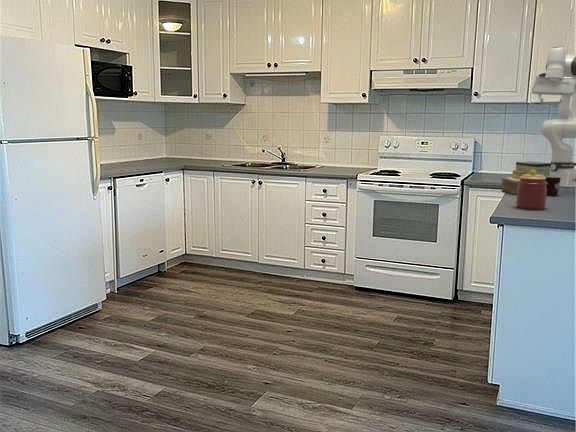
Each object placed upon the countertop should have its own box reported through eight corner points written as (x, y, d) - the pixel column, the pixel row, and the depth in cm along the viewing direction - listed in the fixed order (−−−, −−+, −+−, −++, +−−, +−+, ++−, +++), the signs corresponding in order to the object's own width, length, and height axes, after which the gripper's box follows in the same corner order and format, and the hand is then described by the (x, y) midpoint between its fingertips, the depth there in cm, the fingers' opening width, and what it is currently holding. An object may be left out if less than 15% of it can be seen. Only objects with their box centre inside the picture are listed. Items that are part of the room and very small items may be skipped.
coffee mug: (554, 194, 298) (555, 175, 296) (562, 196, 290) (564, 177, 288) (532, 194, 298) (534, 175, 296) (540, 196, 289) (542, 177, 287)
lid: (521, 178, 308) (521, 169, 307) (537, 181, 296) (538, 172, 295) (501, 179, 304) (501, 170, 303) (517, 182, 292) (518, 173, 291)
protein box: (526, 187, 323) (528, 160, 320) (549, 190, 309) (551, 163, 306) (513, 188, 319) (515, 161, 316) (535, 192, 305) (538, 164, 302)
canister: (525, 204, 268) (527, 167, 264) (551, 207, 257) (554, 170, 254) (509, 207, 260) (512, 169, 257) (536, 211, 250) (539, 172, 246)
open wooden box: (520, 191, 309) (520, 178, 307) (535, 194, 297) (536, 181, 296) (501, 192, 305) (502, 179, 304) (516, 195, 294) (517, 182, 293)
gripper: (575, 79, 289) (572, 105, 289) (533, 78, 297) (530, 103, 296) (577, 75, 284) (574, 101, 283) (533, 74, 291) (530, 100, 290)
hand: (551, 102), depth 290 cm, fingers open, 8 cm apart
